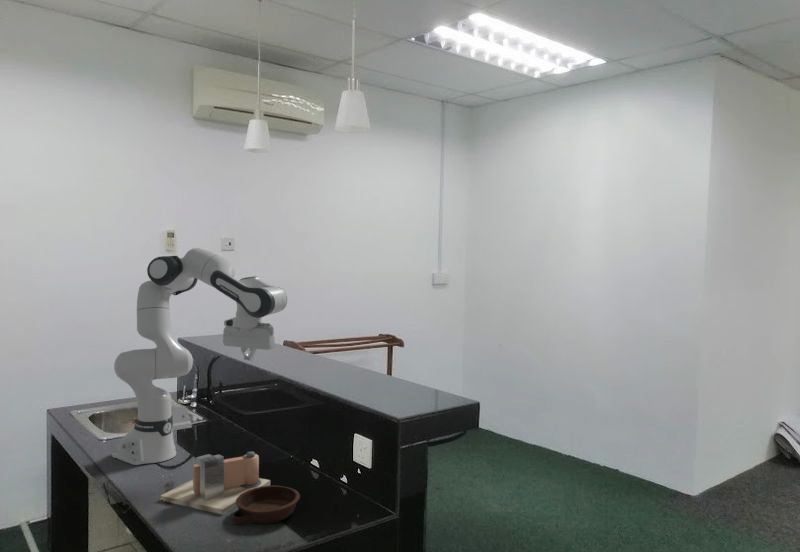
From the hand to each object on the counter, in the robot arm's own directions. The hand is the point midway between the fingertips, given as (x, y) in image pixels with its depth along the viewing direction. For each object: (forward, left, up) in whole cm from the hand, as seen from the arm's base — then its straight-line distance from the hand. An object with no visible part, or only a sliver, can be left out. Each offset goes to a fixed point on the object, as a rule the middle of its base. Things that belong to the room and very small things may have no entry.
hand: (248, 360), depth 210 cm
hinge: (-50, +13, -36) cm, 62 cm away
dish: (+33, -35, -36) cm, 60 cm away
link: (+14, -29, -33) cm, 46 cm away
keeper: (+12, -35, -34) cm, 50 cm away
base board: (+10, -30, -35) cm, 47 cm away
